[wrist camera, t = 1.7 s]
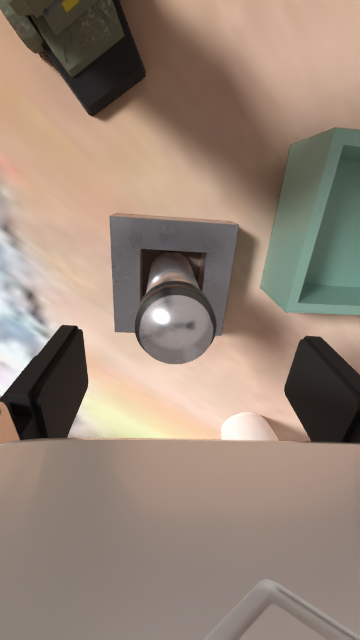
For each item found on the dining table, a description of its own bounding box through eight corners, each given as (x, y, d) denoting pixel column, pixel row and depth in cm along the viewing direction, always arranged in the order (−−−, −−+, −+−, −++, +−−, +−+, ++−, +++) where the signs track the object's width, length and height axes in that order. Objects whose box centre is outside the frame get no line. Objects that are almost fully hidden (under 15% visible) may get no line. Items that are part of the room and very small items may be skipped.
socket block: (215, 321, 27) (221, 335, 25) (120, 318, 26) (114, 332, 24) (230, 221, 23) (239, 224, 20) (116, 213, 22) (109, 215, 19)
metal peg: (192, 296, 26) (213, 369, 15) (146, 294, 26) (133, 367, 15) (197, 250, 24) (224, 295, 13) (147, 247, 24) (133, 291, 13)
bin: (371, 293, 27) (424, 317, 21) (260, 287, 26) (285, 312, 20) (428, 158, 22) (516, 146, 16) (290, 144, 21) (335, 127, 15)
